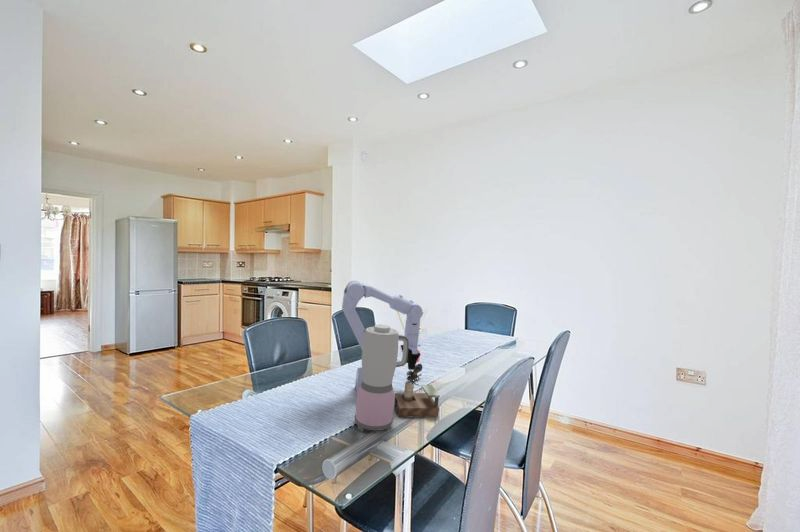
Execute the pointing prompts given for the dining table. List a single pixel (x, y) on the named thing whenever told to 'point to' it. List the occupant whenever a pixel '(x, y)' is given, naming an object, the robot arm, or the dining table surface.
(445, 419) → the dining table surface
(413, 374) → the eagle figurine
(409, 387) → the peg
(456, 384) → the dining table surface
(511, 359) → the dining table surface
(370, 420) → the blender
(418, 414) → the socket deck
